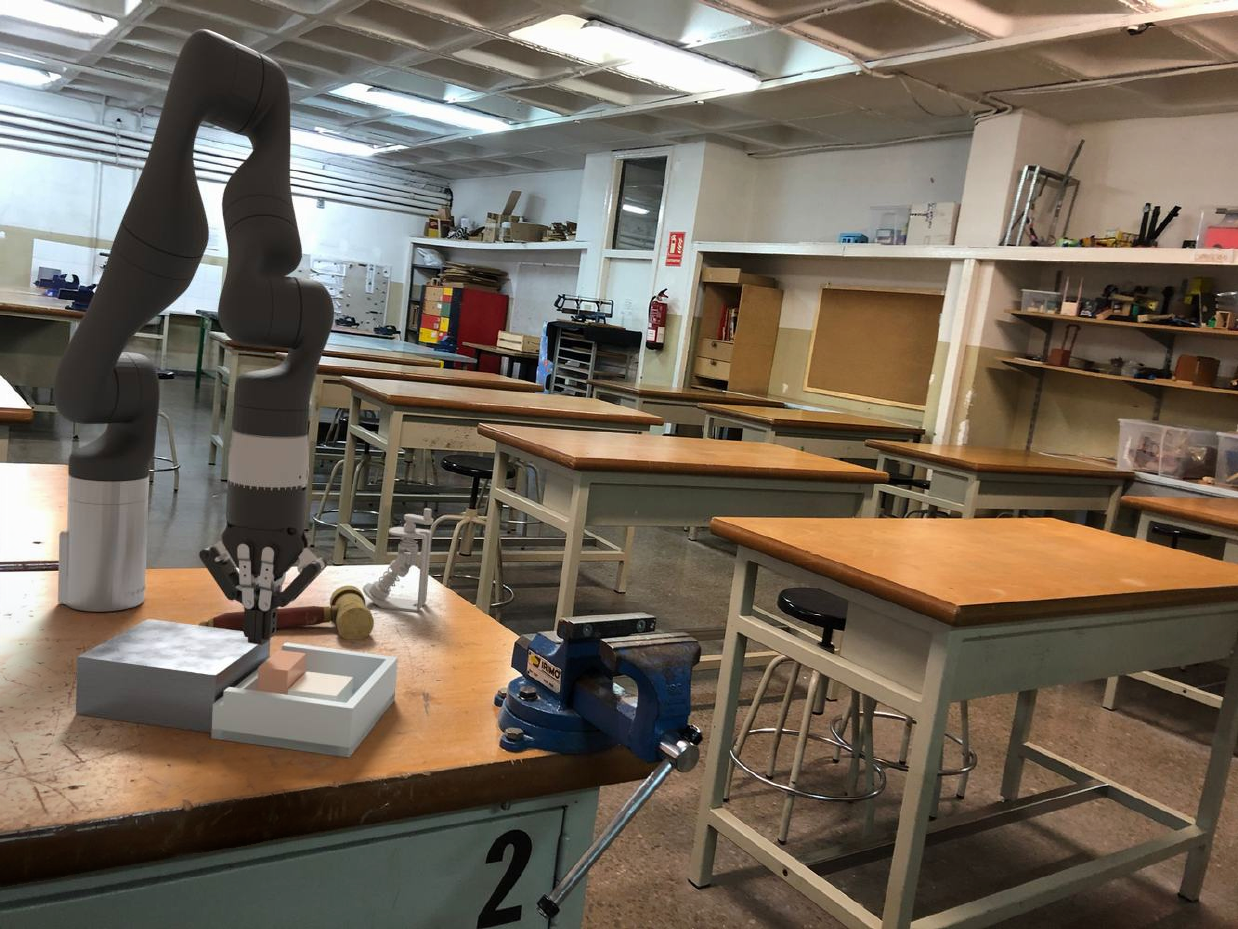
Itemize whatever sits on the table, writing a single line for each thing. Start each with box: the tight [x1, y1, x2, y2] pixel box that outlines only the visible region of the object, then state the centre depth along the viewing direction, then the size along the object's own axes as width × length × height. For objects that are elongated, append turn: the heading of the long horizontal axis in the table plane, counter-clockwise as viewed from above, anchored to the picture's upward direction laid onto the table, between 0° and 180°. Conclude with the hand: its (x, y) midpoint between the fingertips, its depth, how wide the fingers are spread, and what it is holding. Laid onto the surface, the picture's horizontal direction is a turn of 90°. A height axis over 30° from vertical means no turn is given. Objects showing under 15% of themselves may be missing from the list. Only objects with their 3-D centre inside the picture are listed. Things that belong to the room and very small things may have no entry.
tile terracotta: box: [257, 649, 306, 695], centre depth 95 cm, size 5×5×3 cm
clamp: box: [362, 507, 434, 613], centre depth 133 cm, size 4×10×15 cm, turn 88°
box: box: [210, 642, 399, 758], centre depth 95 cm, size 14×14×5 cm
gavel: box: [198, 584, 375, 640], centre depth 120 cm, size 21×5×10 cm
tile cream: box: [287, 672, 353, 703], centre depth 95 cm, size 5×5×3 cm
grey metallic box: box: [75, 618, 272, 734], centre depth 96 cm, size 14×12×6 cm
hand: (259, 641), depth 94 cm, fingers closed
